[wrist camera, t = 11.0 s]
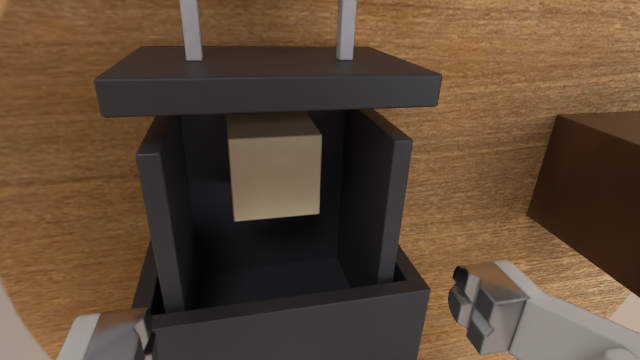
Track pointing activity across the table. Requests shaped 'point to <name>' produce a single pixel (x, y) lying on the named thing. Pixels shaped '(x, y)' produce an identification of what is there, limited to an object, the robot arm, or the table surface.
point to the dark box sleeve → (295, 322)
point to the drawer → (214, 169)
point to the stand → (594, 191)
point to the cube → (274, 164)
